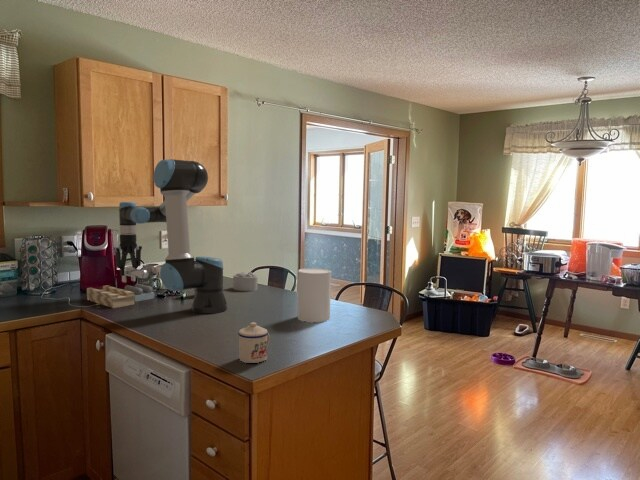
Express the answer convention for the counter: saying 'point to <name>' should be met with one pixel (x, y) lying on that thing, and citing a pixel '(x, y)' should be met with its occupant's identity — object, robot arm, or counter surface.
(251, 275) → the lumpy-topped squat cylinder
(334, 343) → the counter surface
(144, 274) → the axle
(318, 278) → the canister
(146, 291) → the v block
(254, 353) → the teacup with lid
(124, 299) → the beige egg carton
